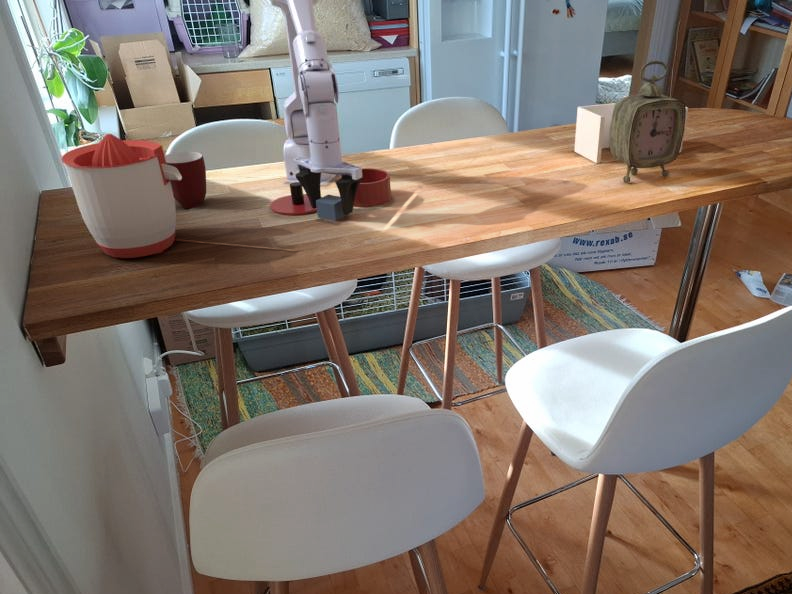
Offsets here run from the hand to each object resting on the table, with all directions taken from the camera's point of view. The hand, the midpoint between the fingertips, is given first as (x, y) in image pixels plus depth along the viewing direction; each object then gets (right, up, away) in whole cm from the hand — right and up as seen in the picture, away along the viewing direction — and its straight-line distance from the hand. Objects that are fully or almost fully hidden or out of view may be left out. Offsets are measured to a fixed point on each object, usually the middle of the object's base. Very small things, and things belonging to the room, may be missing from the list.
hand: (332, 209), depth 135 cm
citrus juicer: (-31, -9, -11) cm, 34 cm away
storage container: (+67, +24, +41) cm, 82 cm away
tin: (+5, +4, +10) cm, 12 cm away
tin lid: (-8, +2, +6) cm, 10 cm away
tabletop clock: (+66, +13, +24) cm, 71 cm away
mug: (-31, +2, +6) cm, 32 cm away
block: (0, -2, +1) cm, 2 cm away
